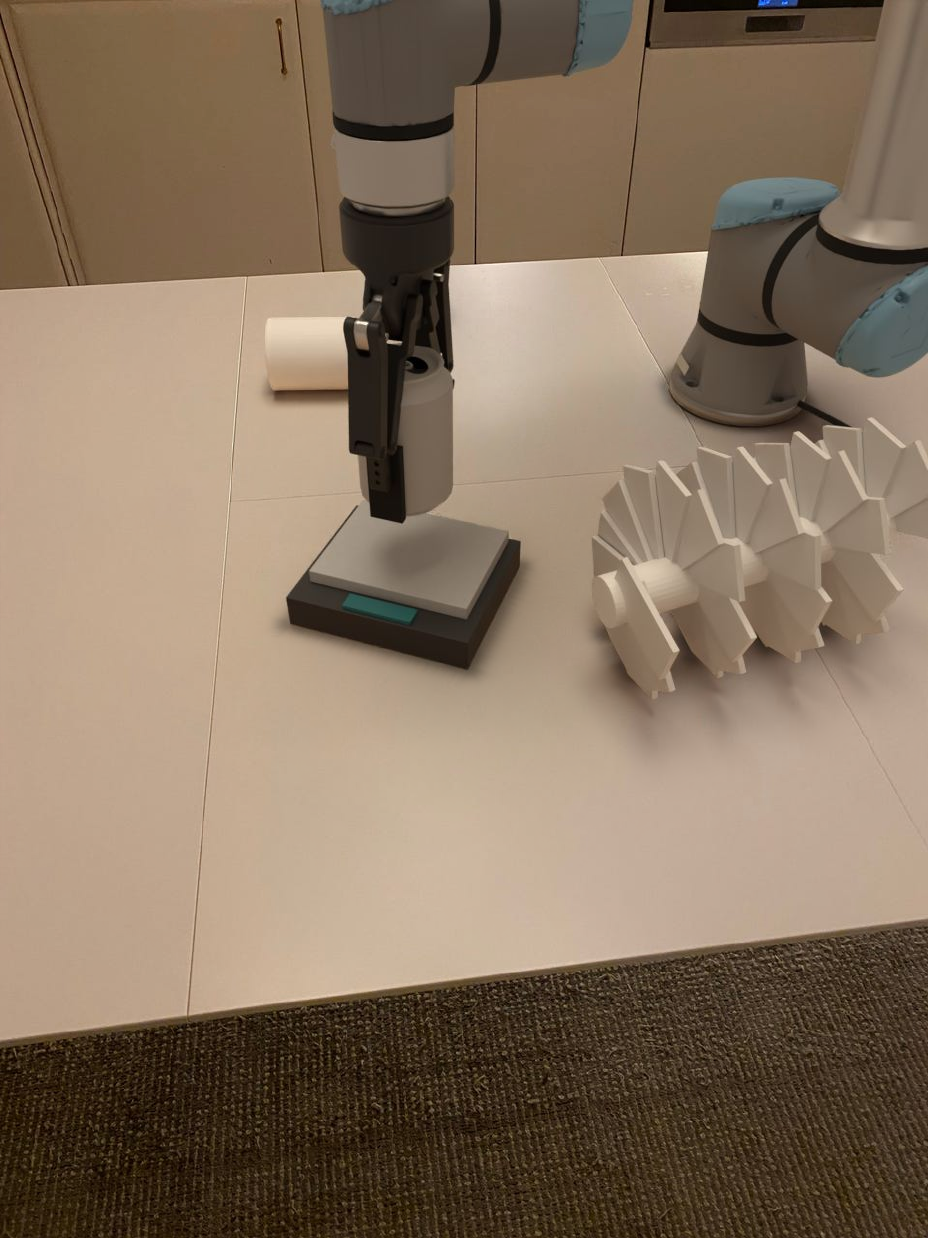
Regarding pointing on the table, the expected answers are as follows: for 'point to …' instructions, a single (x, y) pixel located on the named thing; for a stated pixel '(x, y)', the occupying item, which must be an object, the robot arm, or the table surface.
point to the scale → (408, 584)
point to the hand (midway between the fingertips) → (408, 489)
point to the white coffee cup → (306, 353)
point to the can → (424, 434)
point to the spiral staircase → (756, 548)
